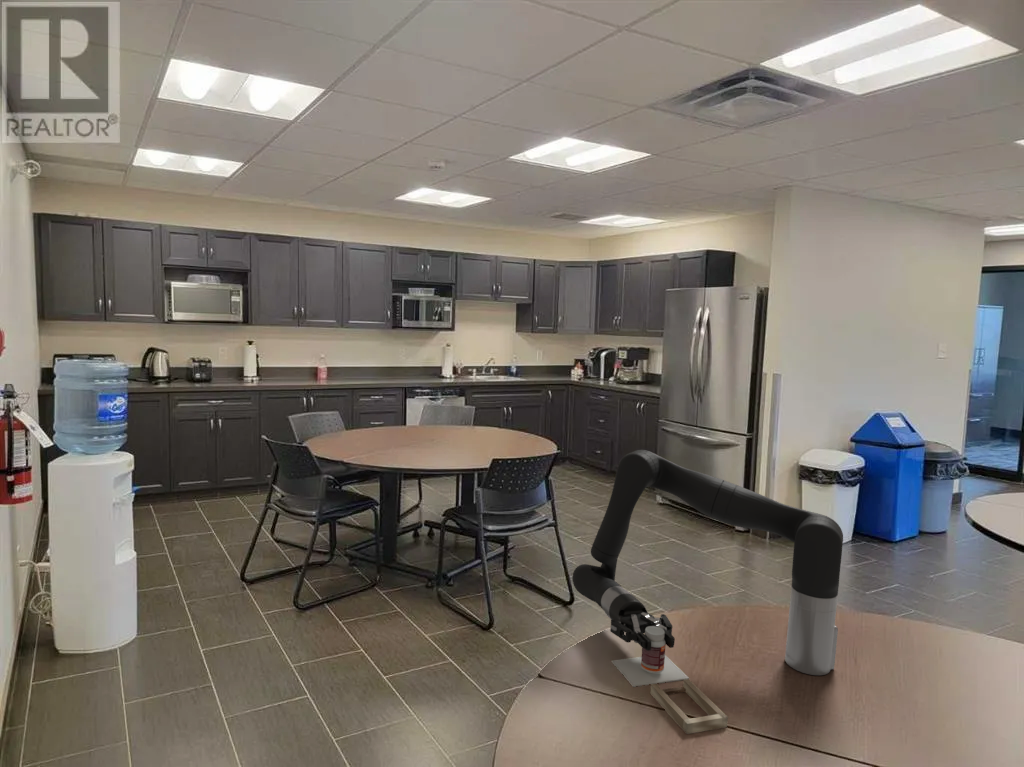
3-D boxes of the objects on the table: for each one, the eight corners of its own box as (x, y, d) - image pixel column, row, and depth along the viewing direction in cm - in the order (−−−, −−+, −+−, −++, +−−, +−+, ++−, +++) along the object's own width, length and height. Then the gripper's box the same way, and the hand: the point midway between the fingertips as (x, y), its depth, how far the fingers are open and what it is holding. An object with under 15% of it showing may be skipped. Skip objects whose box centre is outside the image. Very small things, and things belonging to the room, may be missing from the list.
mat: (664, 655, 146) (664, 653, 146) (689, 679, 136) (689, 677, 136) (611, 661, 142) (611, 660, 142) (633, 687, 132) (633, 685, 132)
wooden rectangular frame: (687, 688, 133) (688, 679, 133) (726, 727, 120) (727, 716, 120) (650, 693, 130) (651, 684, 130) (686, 734, 118) (687, 723, 118)
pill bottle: (664, 675, 135) (667, 637, 134) (640, 672, 136) (643, 634, 135) (663, 663, 140) (666, 626, 139) (640, 660, 141) (643, 623, 140)
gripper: (595, 595, 148) (631, 631, 132) (651, 590, 152) (692, 624, 136) (593, 627, 149) (629, 666, 133) (649, 620, 153) (689, 658, 137)
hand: (661, 644), depth 135 cm, fingers closed on pill bottle, 4 cm apart
